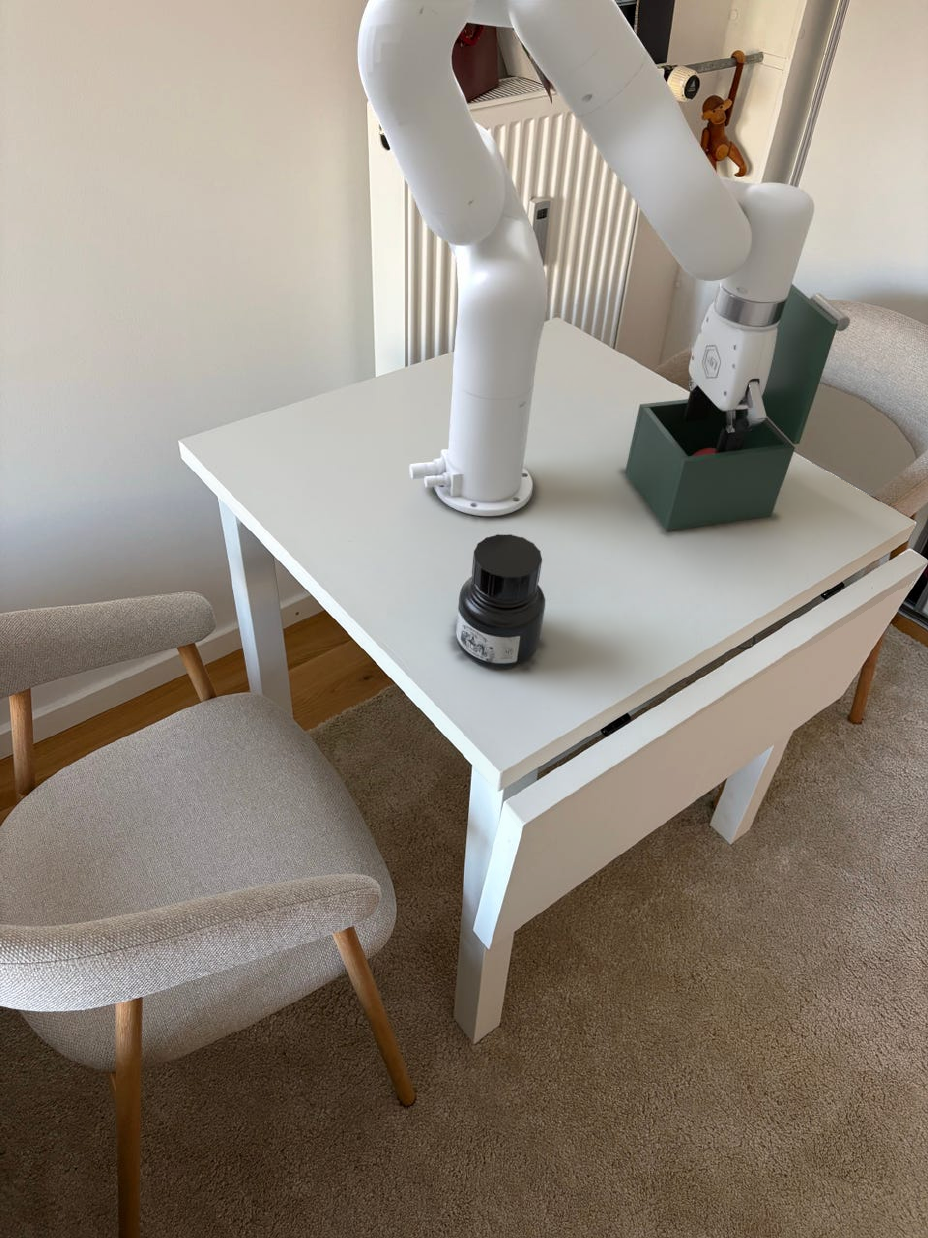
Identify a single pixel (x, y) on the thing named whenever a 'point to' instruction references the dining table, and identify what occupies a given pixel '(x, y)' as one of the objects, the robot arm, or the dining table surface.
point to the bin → (704, 467)
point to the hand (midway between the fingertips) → (710, 436)
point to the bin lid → (800, 359)
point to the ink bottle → (501, 603)
